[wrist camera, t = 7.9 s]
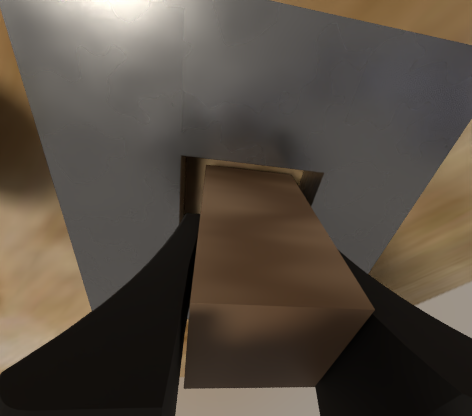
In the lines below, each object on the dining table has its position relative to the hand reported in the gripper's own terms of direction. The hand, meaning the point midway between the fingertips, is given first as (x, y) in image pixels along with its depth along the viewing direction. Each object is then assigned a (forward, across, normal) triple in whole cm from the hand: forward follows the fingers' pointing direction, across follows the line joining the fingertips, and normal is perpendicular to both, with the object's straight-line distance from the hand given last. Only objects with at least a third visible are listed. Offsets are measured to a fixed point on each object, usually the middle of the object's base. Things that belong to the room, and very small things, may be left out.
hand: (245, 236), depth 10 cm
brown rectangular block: (+2, 0, 0) cm, 2 cm away
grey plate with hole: (+3, 0, 0) cm, 3 cm away
